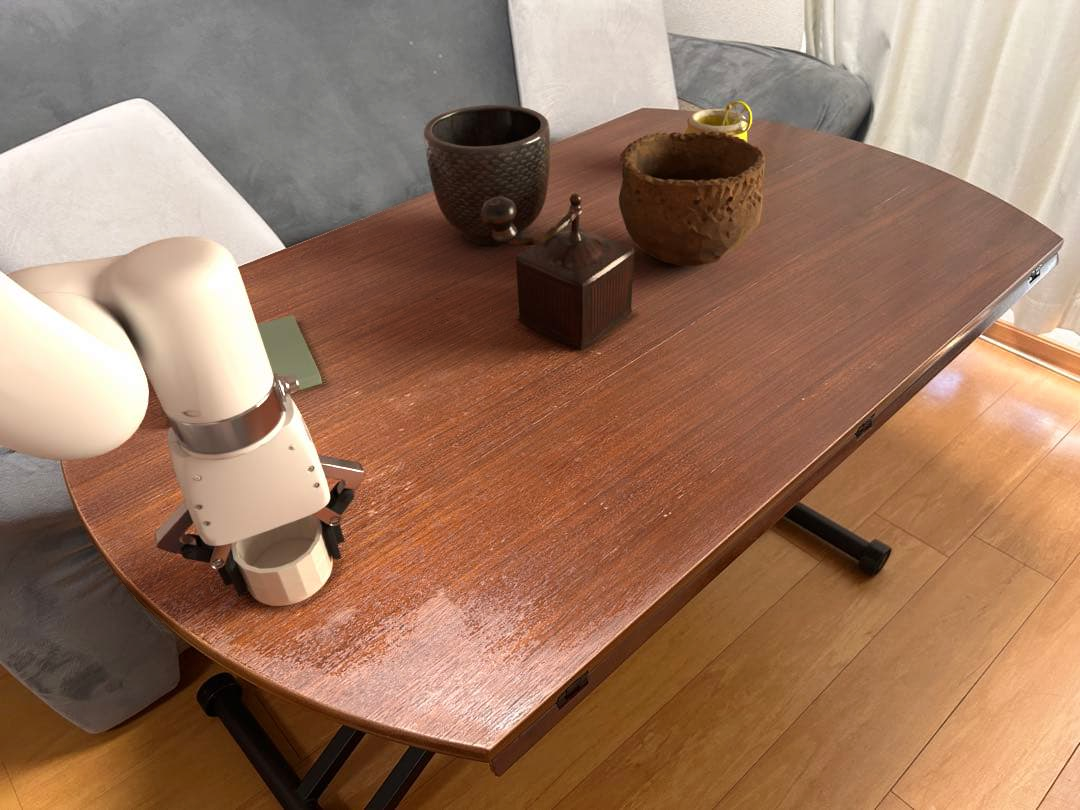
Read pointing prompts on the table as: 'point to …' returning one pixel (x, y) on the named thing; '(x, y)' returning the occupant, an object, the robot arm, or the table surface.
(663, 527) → the table surface
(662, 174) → the bowl
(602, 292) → the pepper mill
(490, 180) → the planter
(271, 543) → the white bowl
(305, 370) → the scale
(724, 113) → the mug
